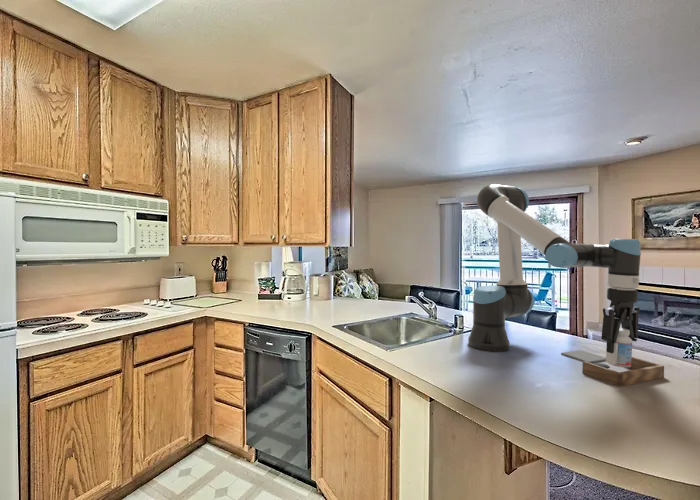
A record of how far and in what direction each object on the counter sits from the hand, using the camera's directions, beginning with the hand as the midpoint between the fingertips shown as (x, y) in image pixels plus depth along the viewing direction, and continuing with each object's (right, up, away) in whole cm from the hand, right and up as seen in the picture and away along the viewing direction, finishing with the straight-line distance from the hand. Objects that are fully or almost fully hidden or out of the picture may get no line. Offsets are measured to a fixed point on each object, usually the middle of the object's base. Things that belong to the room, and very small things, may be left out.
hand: (618, 361), depth 107 cm
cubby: (0, -4, -1) cm, 4 cm away
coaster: (0, -4, +15) cm, 16 cm away
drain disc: (0, -4, +7) cm, 8 cm away
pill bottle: (0, -1, 0) cm, 1 cm away
